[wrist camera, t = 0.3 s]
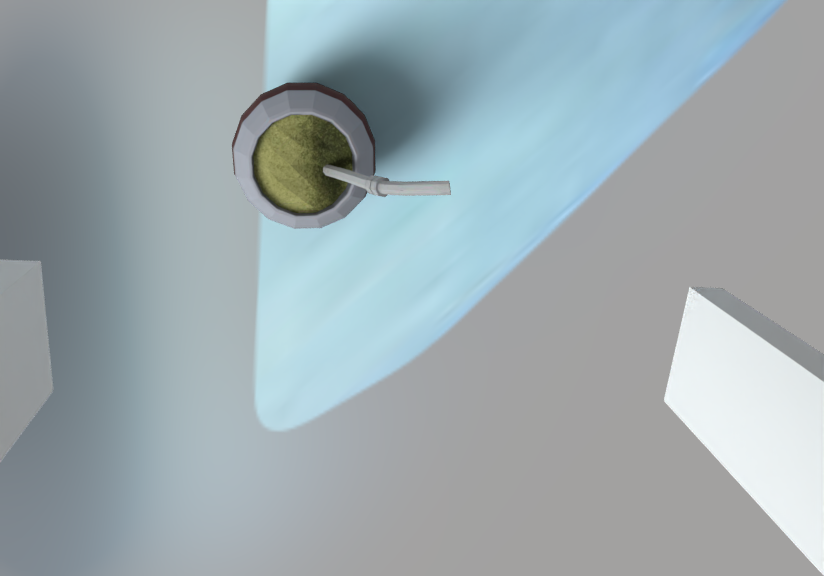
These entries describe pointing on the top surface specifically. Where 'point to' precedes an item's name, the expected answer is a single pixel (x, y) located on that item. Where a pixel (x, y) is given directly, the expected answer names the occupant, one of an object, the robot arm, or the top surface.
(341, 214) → the mate gourd
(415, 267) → the top surface
